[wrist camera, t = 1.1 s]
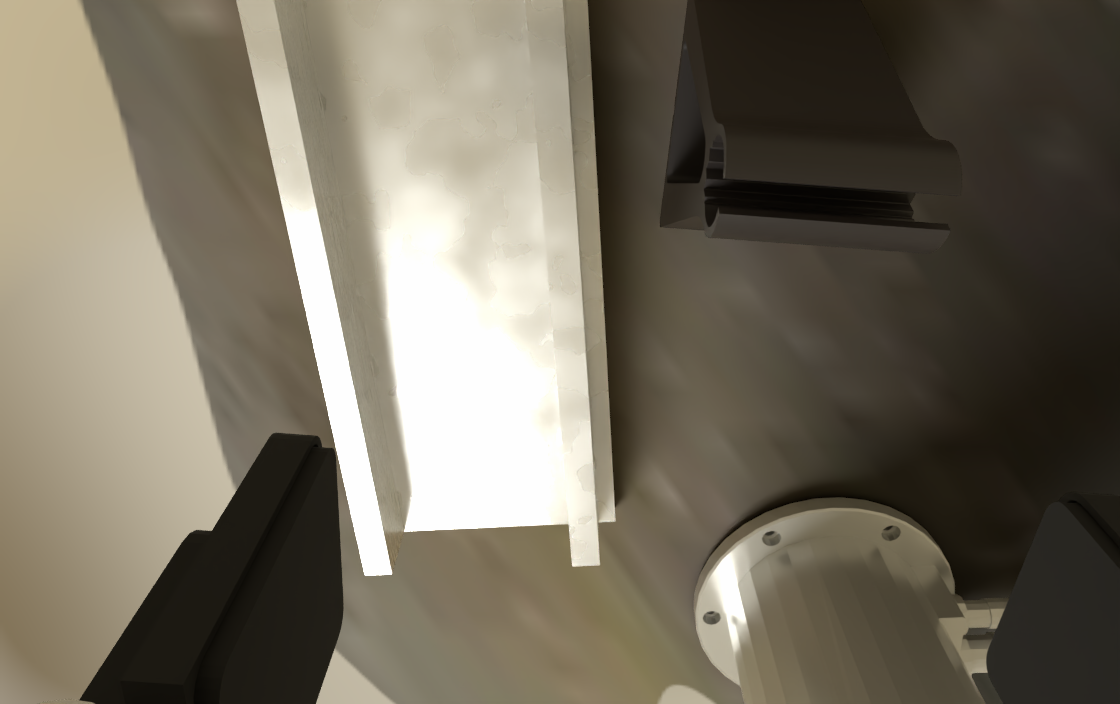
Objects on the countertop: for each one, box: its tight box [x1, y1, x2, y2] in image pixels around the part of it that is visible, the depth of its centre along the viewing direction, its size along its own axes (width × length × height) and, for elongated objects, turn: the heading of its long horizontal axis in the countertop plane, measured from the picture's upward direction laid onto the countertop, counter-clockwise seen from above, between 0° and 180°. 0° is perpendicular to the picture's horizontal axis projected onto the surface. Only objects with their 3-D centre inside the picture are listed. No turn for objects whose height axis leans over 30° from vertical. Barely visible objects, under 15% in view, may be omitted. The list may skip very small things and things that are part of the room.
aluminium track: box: [236, 0, 615, 575], centre depth 32 cm, size 12×28×4 cm, turn 4°
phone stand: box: [660, 0, 962, 254], centre depth 26 cm, size 9×6×12 cm, turn 176°
